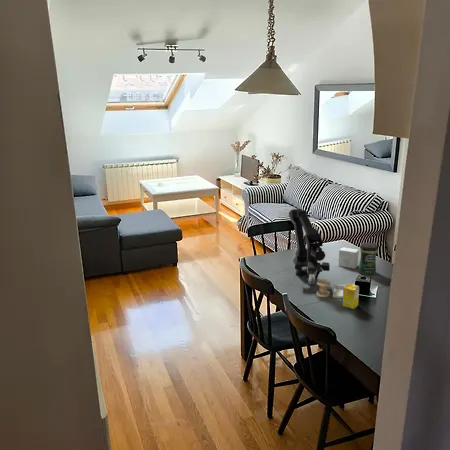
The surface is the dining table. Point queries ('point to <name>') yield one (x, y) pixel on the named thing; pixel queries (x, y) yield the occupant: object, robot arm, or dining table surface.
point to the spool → (323, 288)
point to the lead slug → (311, 277)
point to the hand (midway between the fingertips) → (311, 280)
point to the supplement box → (350, 296)
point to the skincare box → (348, 257)
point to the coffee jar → (368, 258)
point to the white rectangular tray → (338, 290)
